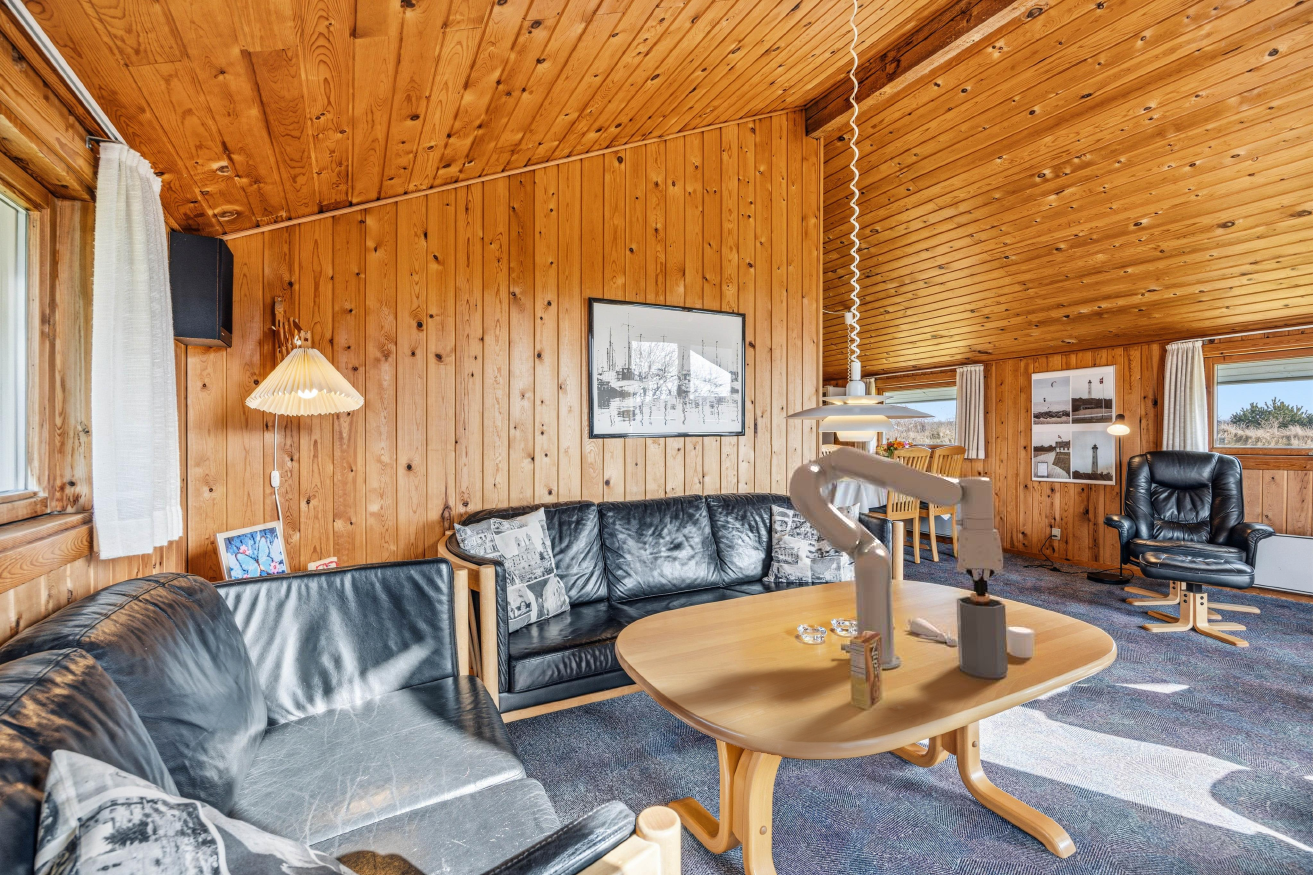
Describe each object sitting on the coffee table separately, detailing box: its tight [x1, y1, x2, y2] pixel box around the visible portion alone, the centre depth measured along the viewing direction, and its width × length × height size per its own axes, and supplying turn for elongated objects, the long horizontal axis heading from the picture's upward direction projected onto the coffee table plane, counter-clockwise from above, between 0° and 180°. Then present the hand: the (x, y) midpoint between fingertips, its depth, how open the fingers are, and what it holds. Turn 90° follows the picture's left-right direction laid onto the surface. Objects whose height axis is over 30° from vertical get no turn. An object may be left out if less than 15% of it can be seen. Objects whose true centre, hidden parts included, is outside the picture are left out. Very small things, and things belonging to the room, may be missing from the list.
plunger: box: [970, 592, 991, 607], centre depth 153 cm, size 8×8×17 cm
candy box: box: [849, 631, 884, 711], centre depth 137 cm, size 9×4×15 cm, turn 137°
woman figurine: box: [907, 617, 958, 647], centre depth 180 cm, size 12×4×18 cm
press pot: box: [956, 595, 1009, 680], centre depth 155 cm, size 11×14×18 cm
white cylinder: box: [1006, 625, 1035, 659], centre depth 164 cm, size 7×7×7 cm
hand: (980, 594), depth 153 cm, fingers closed
